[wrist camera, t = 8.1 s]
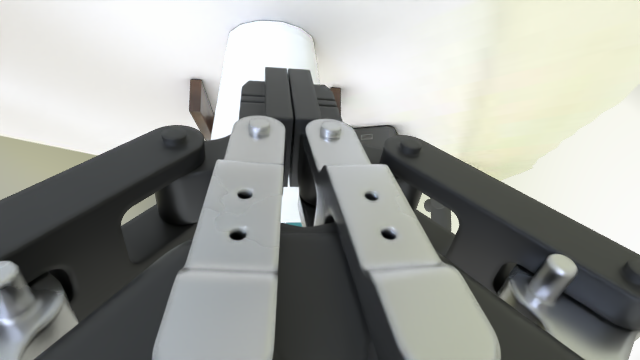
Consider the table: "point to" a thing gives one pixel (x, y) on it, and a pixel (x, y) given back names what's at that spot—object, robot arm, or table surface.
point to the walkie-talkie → (375, 135)
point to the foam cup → (261, 77)
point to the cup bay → (203, 109)
